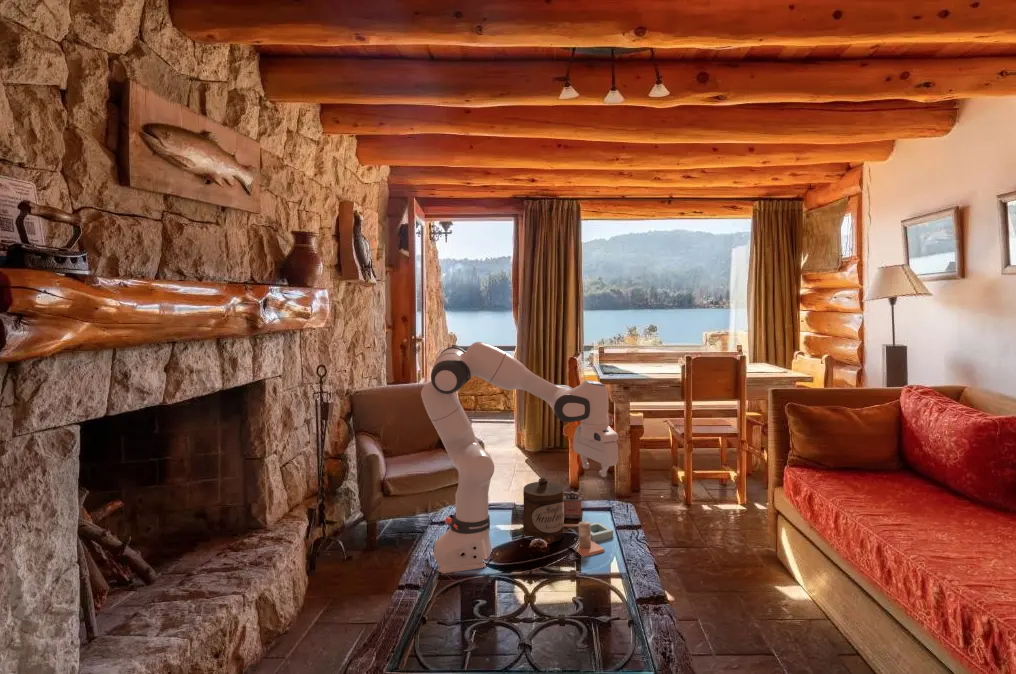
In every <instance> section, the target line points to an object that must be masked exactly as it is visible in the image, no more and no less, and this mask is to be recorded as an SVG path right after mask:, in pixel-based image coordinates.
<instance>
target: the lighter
mask: <svg viewBox="0 0 1016 674" xmlns="http://www.w3.org/2000/svg"><path fill="white" fill-rule="evenodd" d="M582 499H583V498H582V497H580V494H579V492H575V491H563V503H564V519H581V518H582V516H583V515H582V501H583V500H582Z"/></svg>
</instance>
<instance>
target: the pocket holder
mask: <svg viewBox="0 0 1016 674" xmlns="http://www.w3.org/2000/svg"><path fill="white" fill-rule="evenodd" d="M590 530H591V541H593V542H594V543H596V542H600V541H603V539H604V540H607V539H610V538H611V537H612V538H614V530H613V529H611V528H610V527H608V526H606V525H604V524H603V523H601V522H600V521H597V522H592V523H590ZM597 530H598V531H597Z"/></svg>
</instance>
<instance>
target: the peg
mask: <svg viewBox="0 0 1016 674" xmlns="http://www.w3.org/2000/svg"><path fill="white" fill-rule="evenodd" d="M590 524H591V522H589V521H587V520H586V521H585V520H584V521H583V520H582V521H580V522H578V542H579V546H580V547H581V548H590V547H591V530H590Z"/></svg>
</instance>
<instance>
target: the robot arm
mask: <svg viewBox="0 0 1016 674" xmlns="http://www.w3.org/2000/svg"><path fill="white" fill-rule="evenodd" d="M471 377H477V378H480V379H482V380H484V381H485V382H487V383H489V384H491V385H492V386H495V387H497V388H500V389H503V390H505V391H506V390H507V391H513V390H522V391H525V392H528V393H529V394H532V395H533V396H535V397H537V398H540V399H541V400H543V401H545V402H546V403H547V404H548V406H549V407H550V408H551V410H552V411H553V413H554V415H555V416H556V417H557V419H559V421H562V422H563V423H574V422H580V424H579V425H577V426H576V427H575V432H574V434H573V441H572V449H573V452H574V453H576V454H579V458H580V461H581V463H582V468H583V469H584V470H587V469H590V463H589V462H588V459H590V460H593V461H595V462H597V463H599V464H600V465H601V470H599V476H600V477H602V478H605V477H607V473H608V470H609V468H610V467H613V466H614V467H615V466H617V464H618V462H619V445H618V442H617V441H618V440H619V434H618V433H617V432H616V431H615V430H613V428H612V427H611V426H610V425H609V419H608V413H609V407H610V406H609V404H610V403H609V392H608V390H609V389H608V387H607V386H606V385H605V384H604V383H602V382H600V381H597V380H589V379H588V380H584V381H583V382H582V383H581V384H578V385H577V386H575V387H571V386H569V385H564V384H556V383H552V382H550V381H548V380H547V379H545V378H543V377H542V376H539V375H538V374H535V373H533V371H531V370H530V369H528V367H527V366H525V365H524V364H523V363H522V362H521V361H520V360H518V359H517V358H516V357H514V356H513V355H512V354H509V353H508V352H506V351H504V350H502V349H500V348H498V347H496V346H493V345H491V344H488V343H486V342H482V341H476V342H473V343H472V344H471V345H469V346H468V348H467V349H466V350H464V348H462V347H460V346H449V347H447V348H445V349H444V350H442V352H441V353H440V354H439V356H438V357H437V358H436V360H435V361H434V365H433V367H432V369H431V372H430V381H428V382H427V383H426V384H424V386H423V387H422V389H421V392H420V396H421V400H422V403H423V406H424V408H425V411H426V413H427V415H428V417H429V419H430V421H431V423H432V425H433V427H434V428H435V431H436V432H437V434H438V436H439V438H440V440H441V442H442V444H443V446H444V448H445V451H446V453H447V455H448V457H449V459H450V461H451V463H452V464H453V466H454V468H455V469H456V470H457V472H458V484H457V490H456V492H455V515H454V517H453V518H451V517H450V516H447V517H446V518H445V522H446V524H448V525H450V528H449V529H447V530H446V532H444V533H443V534H442V535H440V537H439V538H437V540H436V541H435V543H434V546H433V552H432V553H433V556H434V558H435V559H436V561H437V563H438V567H439V568H438V569H437V570H438V571H439V572H441V573H440V574H449V573H450V574H451V573H457V572H463V571H464V572H465V571H470V570H476V569H484V568H487V566H486V564H485V563H483V561H482V560H483V559H487V558H488V557H489V556H490V554H491V552H492V551H493V548H492V542H491V537H490V527H491V526H490V525H491V523H490V522H491V519H490V518H491V517H490V514H489V492H490V484H491V482H492V481H491V480H492V477H493V475H494V473H495V464H494V461H493V458H492V456H491V454H490V453H489V452H488V451H486V450H485V449H484V448H483V447H482V445H481V444H480V443H479V441H478V438H477V437H476V435H475V432H474V430H473V426H472V423H471V421H470V420H469V417H468V415H467V413H466V411H465V410H464V407H463V406H462V404H461V402H460V400H459V399H458V398H459V397H457V395H456V392H457V391H459V390H460V389H462V387H463V386H465V385H466V384H467V383H468V382H469V381H470V380H471ZM483 567H484V568H483ZM439 572H438V573H439Z"/></svg>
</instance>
